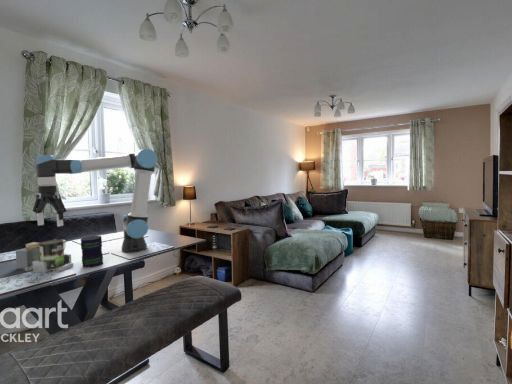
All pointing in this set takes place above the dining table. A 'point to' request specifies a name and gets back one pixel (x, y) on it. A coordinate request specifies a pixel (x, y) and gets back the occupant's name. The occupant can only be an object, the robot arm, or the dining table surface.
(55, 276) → the dining table surface
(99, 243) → the storage jar
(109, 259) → the dining table surface
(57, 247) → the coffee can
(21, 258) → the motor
